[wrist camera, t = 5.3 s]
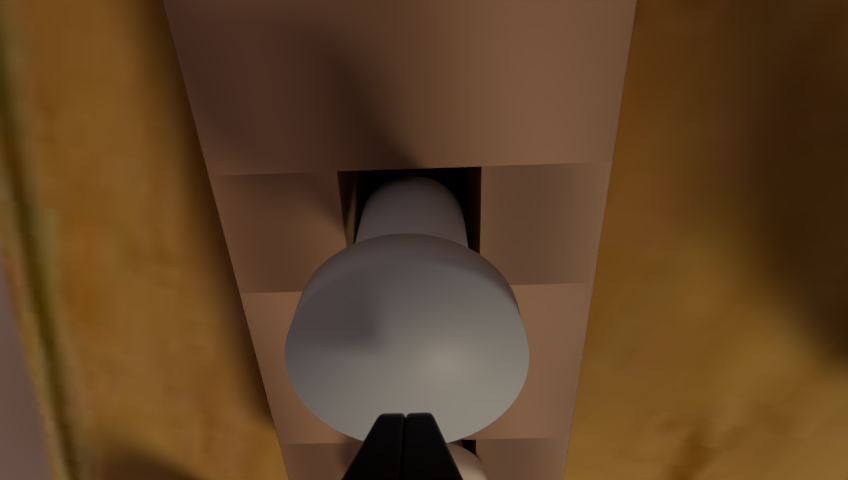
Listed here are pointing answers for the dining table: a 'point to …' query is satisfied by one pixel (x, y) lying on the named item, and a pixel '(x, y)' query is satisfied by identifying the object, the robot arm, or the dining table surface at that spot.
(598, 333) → the dining table surface
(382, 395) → the grey peg
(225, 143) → the walnut block
